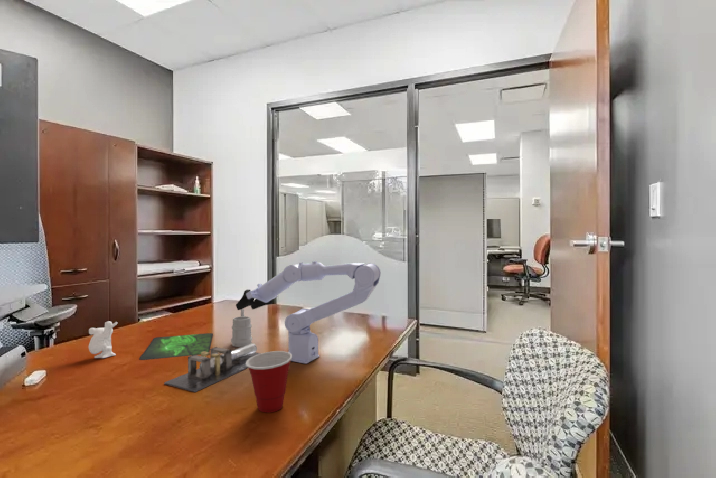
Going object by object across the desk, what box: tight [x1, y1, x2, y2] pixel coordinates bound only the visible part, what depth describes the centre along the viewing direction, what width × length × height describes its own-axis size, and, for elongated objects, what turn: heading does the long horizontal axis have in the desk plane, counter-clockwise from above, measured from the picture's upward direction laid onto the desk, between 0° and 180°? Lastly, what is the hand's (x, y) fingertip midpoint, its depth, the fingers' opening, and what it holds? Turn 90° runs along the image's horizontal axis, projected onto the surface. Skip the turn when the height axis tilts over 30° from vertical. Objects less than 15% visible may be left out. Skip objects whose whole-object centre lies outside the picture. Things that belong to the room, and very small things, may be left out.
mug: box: [230, 308, 253, 348], centre depth 141 cm, size 8×12×12 cm, turn 15°
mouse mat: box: [138, 332, 214, 361], centre depth 137 cm, size 27×22×1 cm
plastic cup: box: [246, 350, 292, 414], centre depth 88 cm, size 11×11×12 cm
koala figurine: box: [88, 320, 118, 359], centre depth 124 cm, size 8×7×12 cm
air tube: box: [199, 342, 258, 372], centre depth 115 cm, size 20×3×4 cm, turn 154°
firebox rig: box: [163, 346, 262, 393], centre depth 113 cm, size 12×31×6 cm, turn 154°
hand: (244, 307), depth 128 cm, fingers open, 7 cm apart
